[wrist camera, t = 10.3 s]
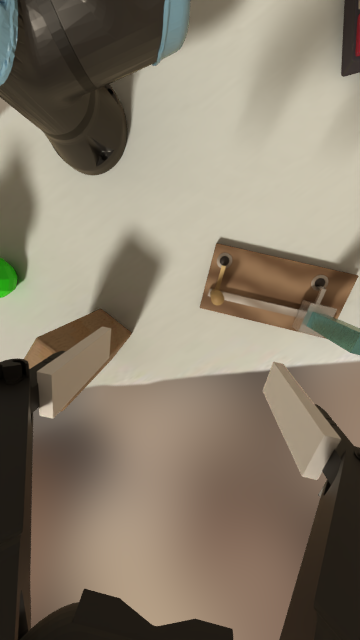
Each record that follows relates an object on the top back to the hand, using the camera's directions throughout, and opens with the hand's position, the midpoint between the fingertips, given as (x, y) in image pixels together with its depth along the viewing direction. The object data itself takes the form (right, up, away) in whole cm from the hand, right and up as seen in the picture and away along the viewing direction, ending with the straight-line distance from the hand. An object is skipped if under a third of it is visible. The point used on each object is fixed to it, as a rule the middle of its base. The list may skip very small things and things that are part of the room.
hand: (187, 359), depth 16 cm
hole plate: (+20, +9, +27) cm, 35 cm away
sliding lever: (+27, +6, +26) cm, 38 cm away
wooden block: (-20, 0, +35) cm, 40 cm away
